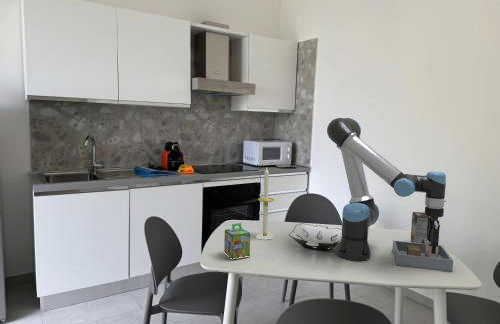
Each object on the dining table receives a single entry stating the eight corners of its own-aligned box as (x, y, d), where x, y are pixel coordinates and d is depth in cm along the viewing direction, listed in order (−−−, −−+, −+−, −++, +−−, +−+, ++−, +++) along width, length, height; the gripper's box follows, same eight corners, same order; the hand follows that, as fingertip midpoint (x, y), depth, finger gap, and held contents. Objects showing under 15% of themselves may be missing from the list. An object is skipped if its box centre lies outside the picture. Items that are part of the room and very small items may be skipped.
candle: (257, 233, 201) (258, 165, 196) (275, 235, 199) (277, 166, 194) (253, 239, 191) (255, 167, 187) (272, 241, 189) (275, 168, 185)
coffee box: (409, 241, 193) (412, 211, 191) (422, 242, 192) (425, 212, 190) (413, 247, 184) (416, 215, 183) (427, 248, 183) (430, 216, 181)
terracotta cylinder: (438, 263, 163) (439, 247, 162) (425, 261, 164) (427, 246, 163) (435, 259, 167) (437, 244, 167) (423, 257, 169) (424, 242, 168)
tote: (397, 265, 160) (397, 254, 160) (392, 250, 179) (393, 240, 179) (452, 271, 155) (453, 260, 154) (441, 255, 174) (442, 245, 173)
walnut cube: (420, 261, 165) (420, 250, 164) (408, 259, 166) (408, 248, 165) (418, 257, 169) (418, 246, 169) (406, 255, 171) (407, 245, 170)
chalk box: (231, 261, 161) (232, 227, 160) (223, 254, 169) (224, 222, 168) (250, 257, 166) (251, 225, 164) (241, 251, 174) (242, 220, 172)
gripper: (449, 212, 153) (445, 266, 156) (439, 203, 171) (435, 251, 173) (429, 210, 155) (425, 264, 158) (421, 202, 173) (418, 250, 175)
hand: (431, 257), depth 166 cm, fingers closed on terracotta cylinder, 5 cm apart
